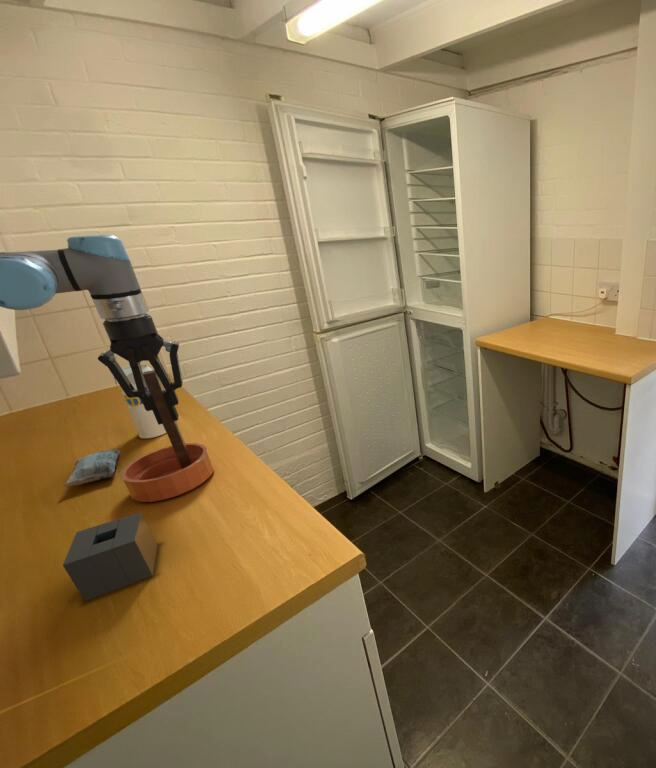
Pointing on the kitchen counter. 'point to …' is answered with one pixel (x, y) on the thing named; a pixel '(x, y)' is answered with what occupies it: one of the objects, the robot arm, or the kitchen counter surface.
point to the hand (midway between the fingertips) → (168, 419)
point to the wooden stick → (167, 418)
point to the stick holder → (111, 556)
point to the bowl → (166, 473)
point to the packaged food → (94, 467)
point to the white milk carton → (141, 410)
